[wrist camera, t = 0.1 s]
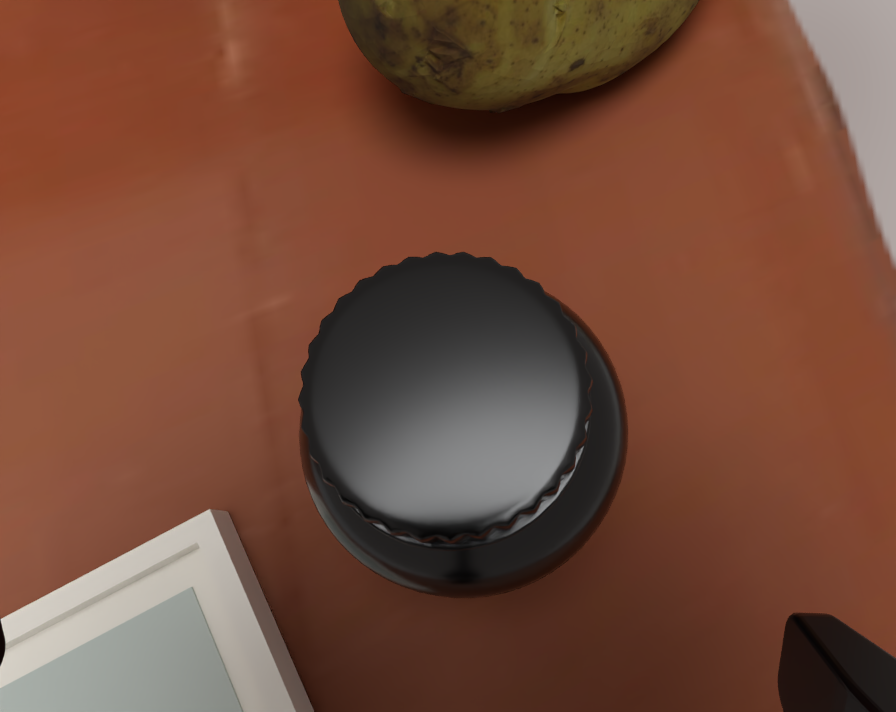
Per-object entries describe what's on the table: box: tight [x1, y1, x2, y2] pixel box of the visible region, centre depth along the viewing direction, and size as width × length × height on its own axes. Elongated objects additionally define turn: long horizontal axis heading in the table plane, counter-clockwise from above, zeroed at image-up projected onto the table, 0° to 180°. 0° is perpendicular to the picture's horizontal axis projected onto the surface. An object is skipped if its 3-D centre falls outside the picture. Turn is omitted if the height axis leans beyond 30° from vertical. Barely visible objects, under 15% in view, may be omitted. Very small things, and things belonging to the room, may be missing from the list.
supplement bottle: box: [298, 252, 628, 598], centre depth 18 cm, size 7×7×12 cm
